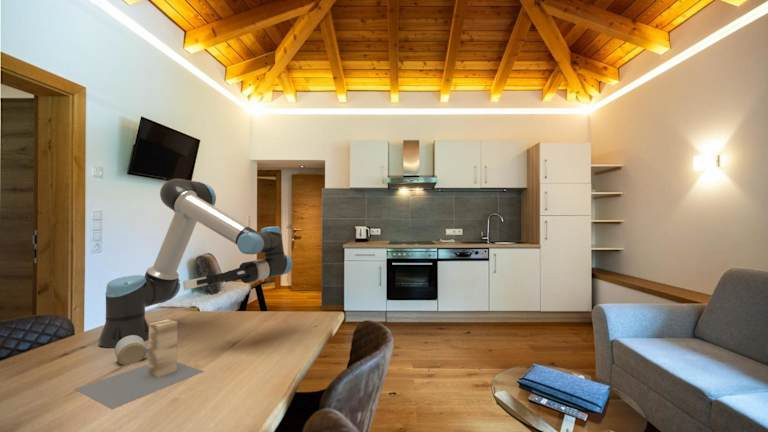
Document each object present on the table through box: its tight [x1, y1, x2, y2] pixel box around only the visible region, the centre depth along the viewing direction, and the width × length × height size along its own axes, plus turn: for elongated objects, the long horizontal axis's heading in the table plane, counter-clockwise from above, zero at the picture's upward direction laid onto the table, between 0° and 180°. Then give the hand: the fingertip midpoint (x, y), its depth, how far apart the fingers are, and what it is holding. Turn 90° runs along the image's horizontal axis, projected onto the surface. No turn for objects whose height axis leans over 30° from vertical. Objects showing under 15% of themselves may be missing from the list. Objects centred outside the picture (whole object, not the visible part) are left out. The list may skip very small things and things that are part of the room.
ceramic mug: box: [114, 335, 149, 366], centre depth 104 cm, size 11×8×8 cm
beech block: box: [147, 319, 178, 378], centre depth 94 cm, size 5×5×14 cm
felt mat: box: [74, 361, 205, 410], centre depth 89 cm, size 20×22×1 cm
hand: (184, 285), depth 103 cm, fingers closed
